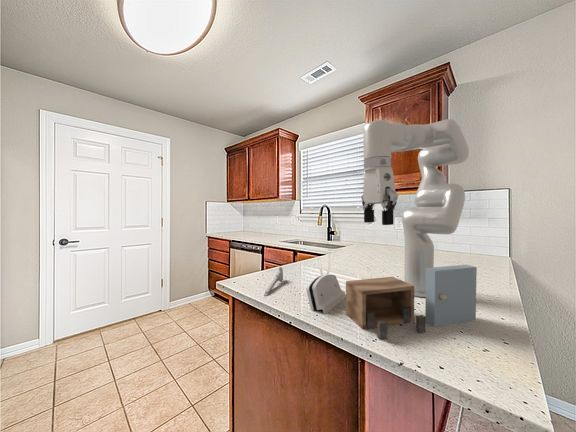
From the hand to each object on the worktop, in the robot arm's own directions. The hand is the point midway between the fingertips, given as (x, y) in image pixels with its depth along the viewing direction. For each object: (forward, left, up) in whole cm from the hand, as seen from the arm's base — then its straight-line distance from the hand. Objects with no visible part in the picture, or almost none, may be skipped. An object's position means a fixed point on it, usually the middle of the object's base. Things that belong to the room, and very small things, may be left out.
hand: (377, 223), depth 71 cm
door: (-16, +10, -27) cm, 33 cm away
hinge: (+12, -11, -27) cm, 32 cm away
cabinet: (+2, +6, -27) cm, 28 cm away
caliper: (+26, -31, -27) cm, 49 cm away
